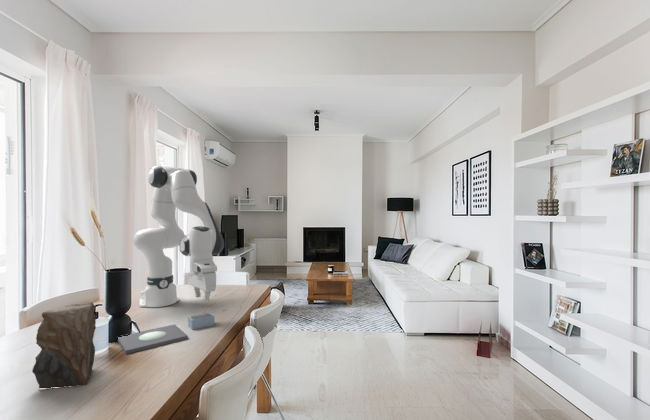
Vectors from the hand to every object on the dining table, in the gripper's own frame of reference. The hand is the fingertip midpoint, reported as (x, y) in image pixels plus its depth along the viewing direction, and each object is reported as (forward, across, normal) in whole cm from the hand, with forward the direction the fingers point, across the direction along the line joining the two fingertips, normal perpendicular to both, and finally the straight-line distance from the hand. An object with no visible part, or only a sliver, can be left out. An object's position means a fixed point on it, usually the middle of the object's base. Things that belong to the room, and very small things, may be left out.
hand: (202, 299), depth 136 cm
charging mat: (+11, +2, -19) cm, 22 cm away
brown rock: (+11, +19, -44) cm, 50 cm away
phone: (+11, -1, 0) cm, 11 cm away
